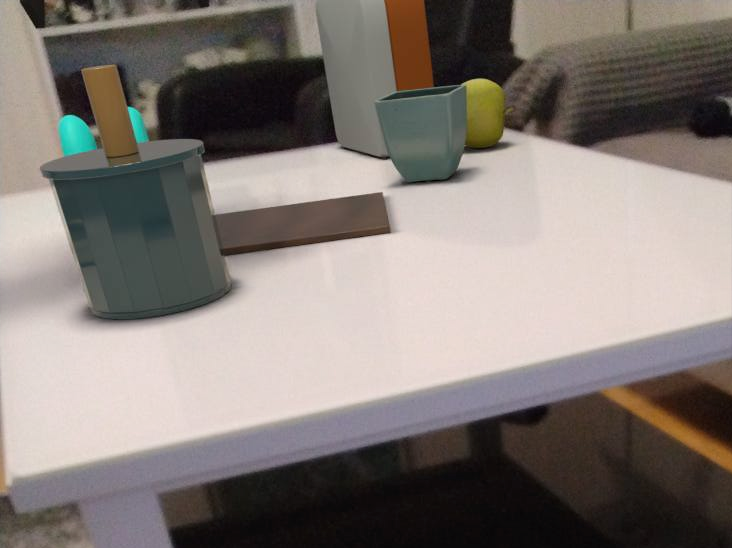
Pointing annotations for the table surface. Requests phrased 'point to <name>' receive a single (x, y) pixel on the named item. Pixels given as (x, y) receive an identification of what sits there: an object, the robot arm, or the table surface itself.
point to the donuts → (81, 138)
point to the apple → (484, 113)
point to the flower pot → (424, 130)
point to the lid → (116, 137)
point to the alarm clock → (371, 62)
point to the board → (303, 223)
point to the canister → (144, 240)
